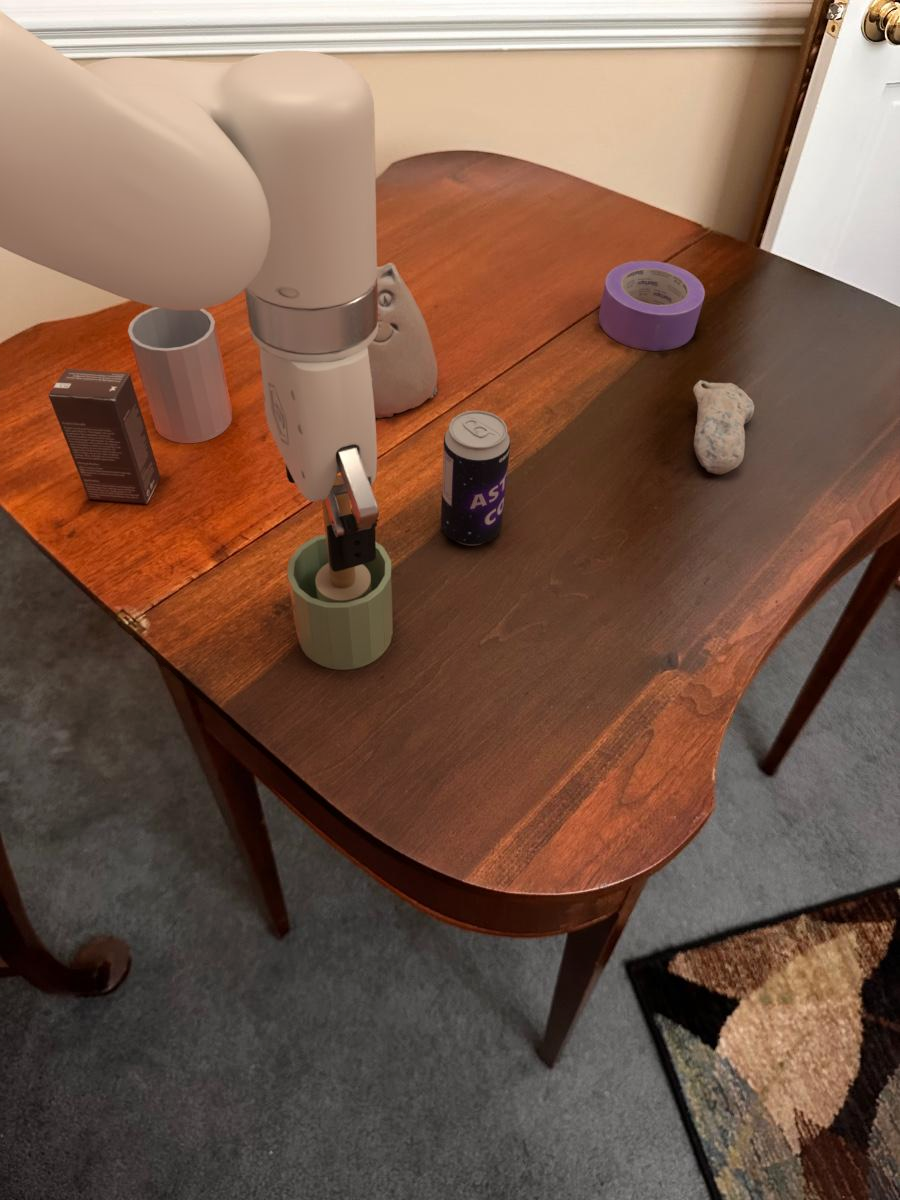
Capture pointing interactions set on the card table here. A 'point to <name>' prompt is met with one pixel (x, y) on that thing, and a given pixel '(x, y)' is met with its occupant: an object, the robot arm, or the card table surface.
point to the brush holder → (340, 611)
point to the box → (106, 435)
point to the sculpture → (400, 349)
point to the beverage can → (474, 477)
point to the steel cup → (182, 373)
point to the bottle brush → (346, 581)
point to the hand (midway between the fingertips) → (329, 518)
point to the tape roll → (650, 305)
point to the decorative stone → (721, 425)
